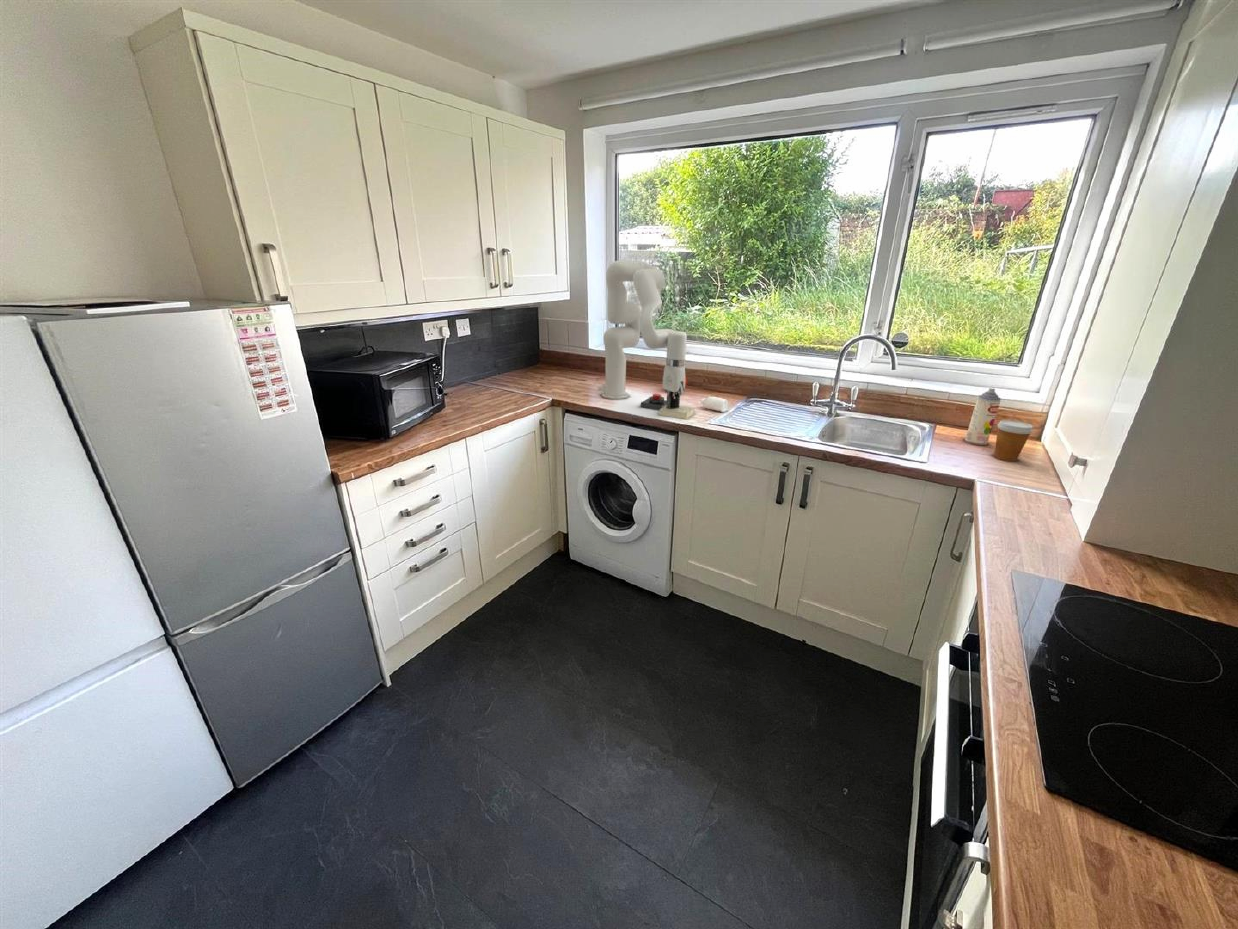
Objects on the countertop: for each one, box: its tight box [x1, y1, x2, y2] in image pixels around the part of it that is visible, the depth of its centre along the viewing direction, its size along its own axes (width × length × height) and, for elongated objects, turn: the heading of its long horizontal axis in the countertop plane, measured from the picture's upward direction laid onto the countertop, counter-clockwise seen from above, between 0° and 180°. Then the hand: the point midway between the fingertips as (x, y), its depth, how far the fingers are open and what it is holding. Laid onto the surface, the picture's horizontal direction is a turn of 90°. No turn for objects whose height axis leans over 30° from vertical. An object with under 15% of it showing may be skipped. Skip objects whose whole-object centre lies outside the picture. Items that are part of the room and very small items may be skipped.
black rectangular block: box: [666, 395, 681, 409], centre depth 208 cm, size 6×2×5 cm, turn 120°
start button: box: [652, 393, 662, 399], centre depth 218 cm, size 4×4×2 cm
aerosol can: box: [964, 387, 1001, 446], centre depth 179 cm, size 7×7×20 cm
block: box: [640, 395, 667, 411], centre depth 219 cm, size 11×9×4 cm
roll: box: [699, 396, 729, 413], centre depth 216 cm, size 6×12×6 cm, turn 51°
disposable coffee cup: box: [993, 419, 1034, 462], centre depth 165 cm, size 10×10×12 cm
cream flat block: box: [658, 405, 696, 420], centre depth 209 cm, size 13×10×3 cm
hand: (672, 406), depth 209 cm, fingers closed on black rectangular block, 2 cm apart
